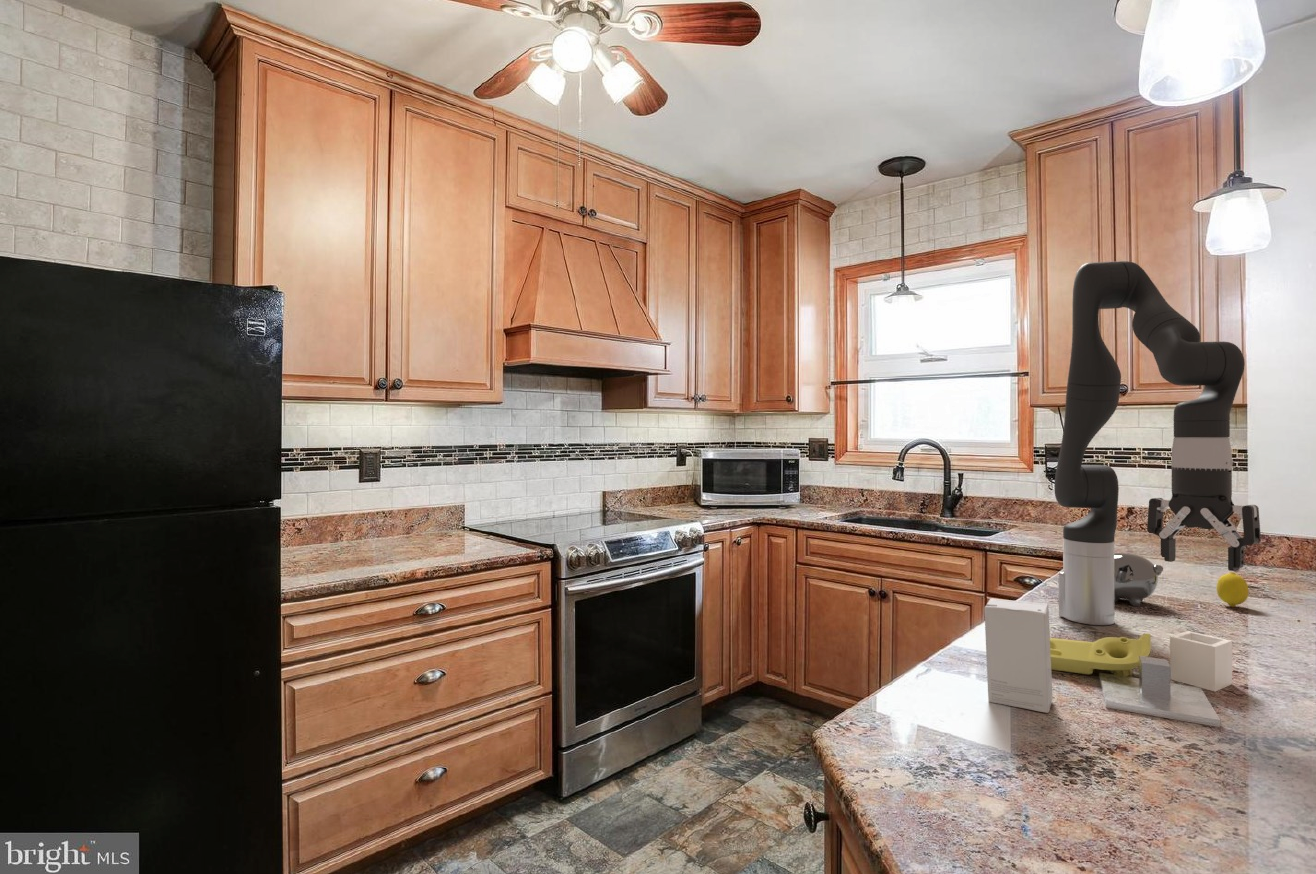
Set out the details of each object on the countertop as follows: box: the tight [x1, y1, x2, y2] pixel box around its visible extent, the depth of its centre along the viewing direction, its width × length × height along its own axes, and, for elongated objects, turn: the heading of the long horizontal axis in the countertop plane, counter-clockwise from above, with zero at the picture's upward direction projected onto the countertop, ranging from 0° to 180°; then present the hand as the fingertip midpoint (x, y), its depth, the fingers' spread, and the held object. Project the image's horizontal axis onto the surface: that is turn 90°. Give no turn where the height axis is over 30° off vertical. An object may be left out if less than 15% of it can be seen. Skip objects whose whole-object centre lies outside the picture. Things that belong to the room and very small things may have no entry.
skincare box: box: [983, 597, 1053, 714], centre depth 99 cm, size 8×6×15 cm
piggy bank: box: [1114, 552, 1164, 607], centre depth 156 cm, size 11×15×12 cm
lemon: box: [1216, 571, 1250, 608], centre depth 151 cm, size 6×6×8 cm
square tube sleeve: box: [1169, 630, 1233, 692], centre depth 106 cm, size 6×6×7 cm
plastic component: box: [1050, 632, 1152, 677], centre depth 113 cm, size 20×7×10 cm
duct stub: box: [1099, 656, 1221, 728], centre depth 99 cm, size 13×13×6 cm
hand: (1200, 565), depth 106 cm, fingers open, 8 cm apart
